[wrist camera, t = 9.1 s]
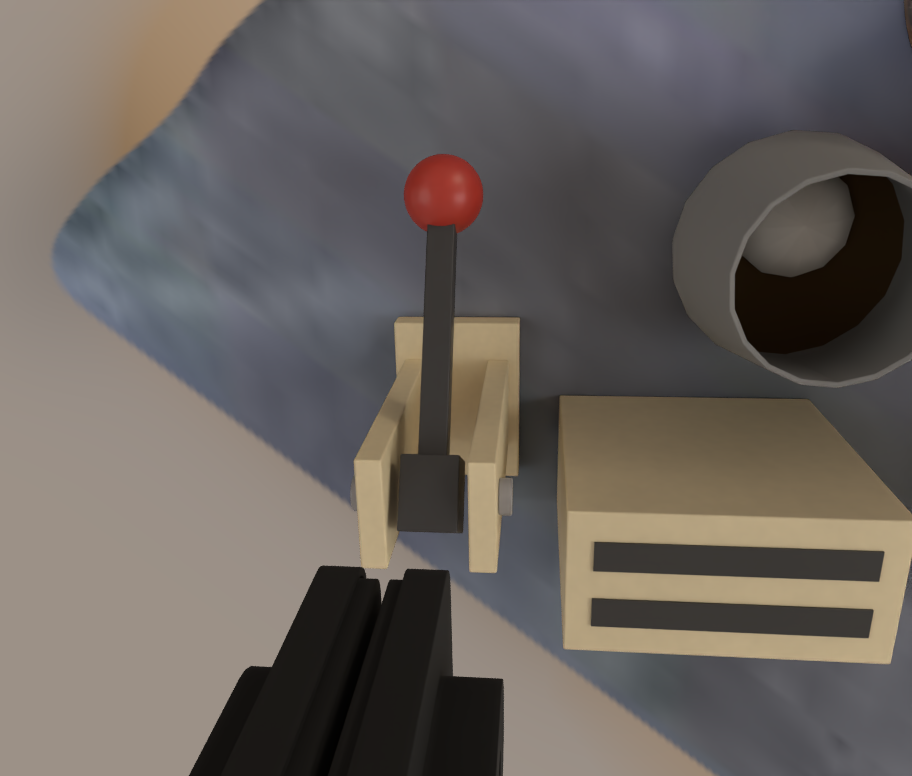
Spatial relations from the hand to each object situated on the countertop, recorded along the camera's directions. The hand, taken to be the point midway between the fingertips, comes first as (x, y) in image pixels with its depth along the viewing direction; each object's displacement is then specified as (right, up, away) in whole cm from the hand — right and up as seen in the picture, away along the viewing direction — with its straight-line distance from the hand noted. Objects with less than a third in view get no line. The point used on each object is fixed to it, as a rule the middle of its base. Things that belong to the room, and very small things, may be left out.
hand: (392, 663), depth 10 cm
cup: (+15, +11, +26) cm, 32 cm away
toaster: (+12, 0, +30) cm, 32 cm away
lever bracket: (+1, +3, +30) cm, 30 cm away
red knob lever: (0, +5, +22) cm, 23 cm away
